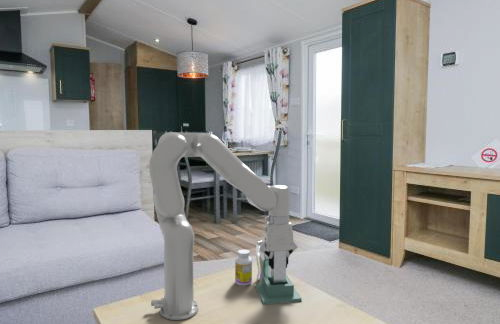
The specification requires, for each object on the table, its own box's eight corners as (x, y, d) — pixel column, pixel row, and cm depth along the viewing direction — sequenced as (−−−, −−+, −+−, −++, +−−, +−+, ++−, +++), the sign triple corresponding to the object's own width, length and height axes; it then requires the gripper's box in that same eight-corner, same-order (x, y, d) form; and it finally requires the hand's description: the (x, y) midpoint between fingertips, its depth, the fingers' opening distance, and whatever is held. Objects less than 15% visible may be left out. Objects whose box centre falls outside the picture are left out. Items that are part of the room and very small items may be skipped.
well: (263, 304, 126) (263, 290, 125) (255, 286, 140) (255, 274, 139) (301, 300, 129) (301, 287, 128) (289, 283, 142) (290, 271, 142)
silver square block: (273, 282, 131) (274, 248, 129) (270, 277, 135) (271, 244, 134) (285, 281, 132) (286, 247, 130) (282, 276, 136) (282, 243, 135)
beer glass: (271, 283, 142) (272, 246, 141) (254, 281, 144) (254, 245, 142) (273, 276, 149) (274, 241, 147) (257, 274, 150) (257, 239, 149)
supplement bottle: (233, 279, 145) (233, 249, 144) (248, 277, 147) (249, 247, 146) (237, 287, 139) (237, 255, 137) (253, 285, 141) (254, 253, 139)
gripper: (258, 223, 126) (258, 273, 128) (304, 220, 129) (303, 269, 131) (254, 217, 133) (254, 264, 135) (297, 215, 136) (296, 261, 138)
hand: (278, 266), depth 133 cm, fingers closed on silver square block, 4 cm apart
